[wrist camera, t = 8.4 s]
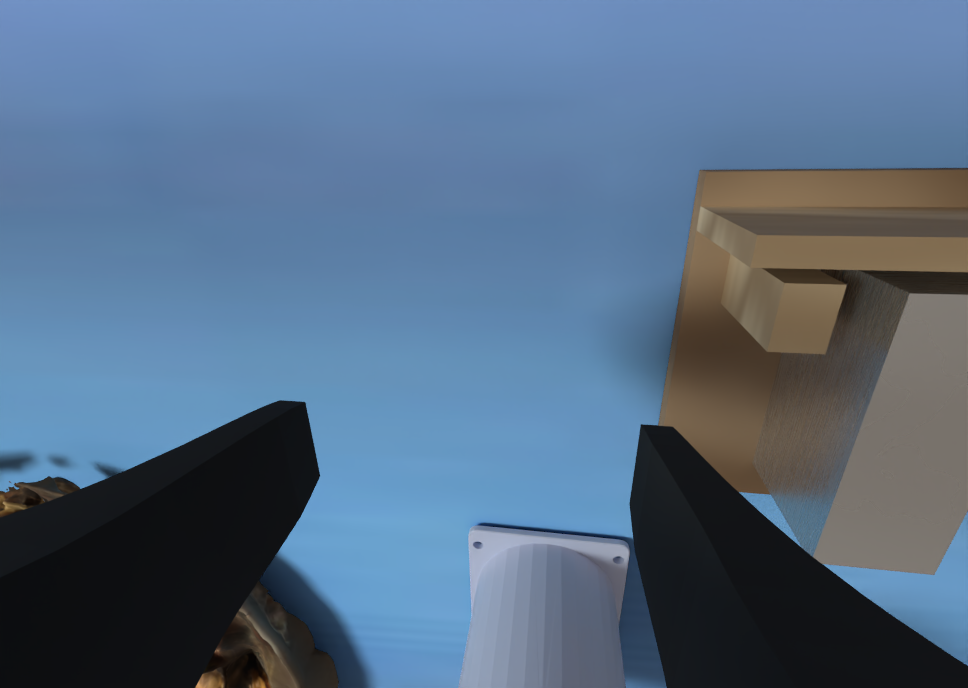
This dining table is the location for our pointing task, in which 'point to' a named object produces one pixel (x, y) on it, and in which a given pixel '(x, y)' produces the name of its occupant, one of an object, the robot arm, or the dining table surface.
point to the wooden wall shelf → (788, 284)
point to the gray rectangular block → (876, 425)
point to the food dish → (251, 635)
